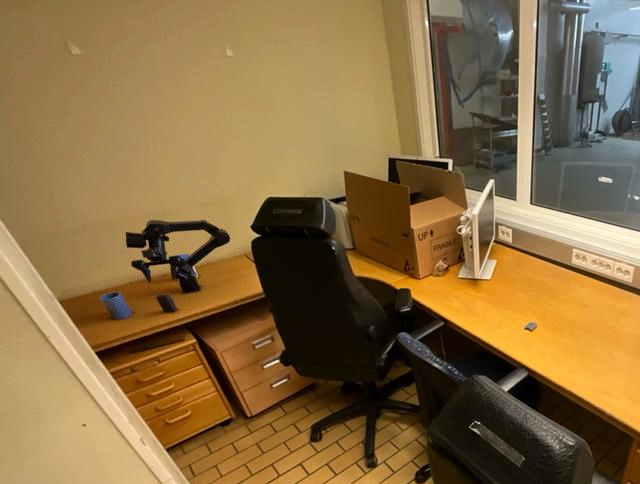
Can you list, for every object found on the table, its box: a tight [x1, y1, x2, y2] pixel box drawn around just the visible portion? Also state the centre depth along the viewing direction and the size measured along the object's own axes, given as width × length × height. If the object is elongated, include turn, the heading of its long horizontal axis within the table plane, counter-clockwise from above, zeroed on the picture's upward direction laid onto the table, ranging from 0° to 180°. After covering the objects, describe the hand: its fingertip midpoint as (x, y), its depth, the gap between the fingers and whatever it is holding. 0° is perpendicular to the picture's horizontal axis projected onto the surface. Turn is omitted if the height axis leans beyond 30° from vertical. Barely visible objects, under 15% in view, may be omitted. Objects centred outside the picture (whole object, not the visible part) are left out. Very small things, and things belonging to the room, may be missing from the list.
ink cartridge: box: [155, 294, 178, 313], centre depth 177 cm, size 5×2×8 cm, turn 89°
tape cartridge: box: [167, 253, 199, 282], centre depth 203 cm, size 9×4×12 cm, turn 119°
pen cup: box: [99, 291, 133, 320], centre depth 173 cm, size 7×7×10 cm
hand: (161, 280), depth 177 cm, fingers open, 9 cm apart
